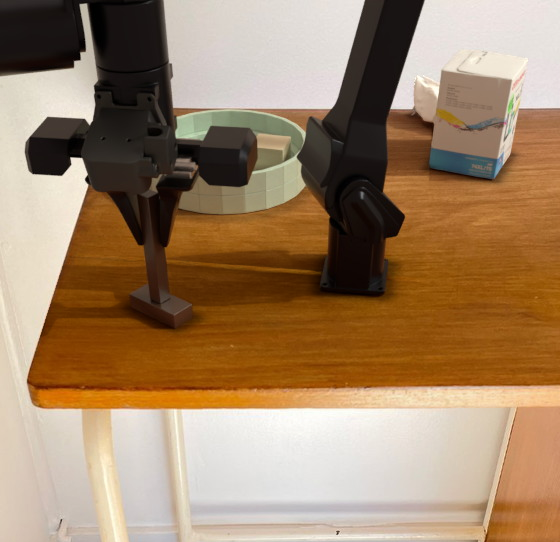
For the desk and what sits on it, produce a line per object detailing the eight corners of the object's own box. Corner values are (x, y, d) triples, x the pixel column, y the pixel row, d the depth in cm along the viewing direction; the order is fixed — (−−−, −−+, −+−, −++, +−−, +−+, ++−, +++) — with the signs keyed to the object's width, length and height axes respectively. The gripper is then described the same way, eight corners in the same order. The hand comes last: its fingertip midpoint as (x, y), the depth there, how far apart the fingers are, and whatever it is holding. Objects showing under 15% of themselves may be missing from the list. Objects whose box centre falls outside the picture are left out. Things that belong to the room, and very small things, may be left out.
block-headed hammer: (193, 317, 81) (182, 197, 73) (175, 329, 80) (162, 208, 72) (149, 296, 84) (134, 178, 76) (130, 307, 83) (113, 188, 74)
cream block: (282, 183, 101) (282, 150, 98) (250, 180, 101) (249, 146, 99) (290, 169, 103) (290, 136, 101) (259, 166, 104) (258, 133, 101)
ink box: (494, 181, 102) (512, 79, 94) (426, 168, 105) (439, 68, 97) (511, 154, 108) (530, 55, 100) (447, 143, 110) (460, 46, 102)
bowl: (296, 224, 95) (296, 181, 91) (129, 213, 97) (123, 170, 93) (315, 153, 108) (317, 113, 105) (169, 145, 110) (165, 105, 107)
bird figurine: (397, 129, 117) (445, 135, 109) (402, 73, 114) (451, 76, 106) (425, 129, 119) (474, 135, 112) (431, 75, 116) (481, 77, 108)
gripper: (-23, 92, 61) (23, 283, 72) (230, 105, 59) (238, 299, 70) (31, 42, 69) (65, 221, 80) (256, 53, 67) (260, 235, 78)
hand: (153, 244), depth 77 cm, fingers closed on block-headed hammer, 2 cm apart
